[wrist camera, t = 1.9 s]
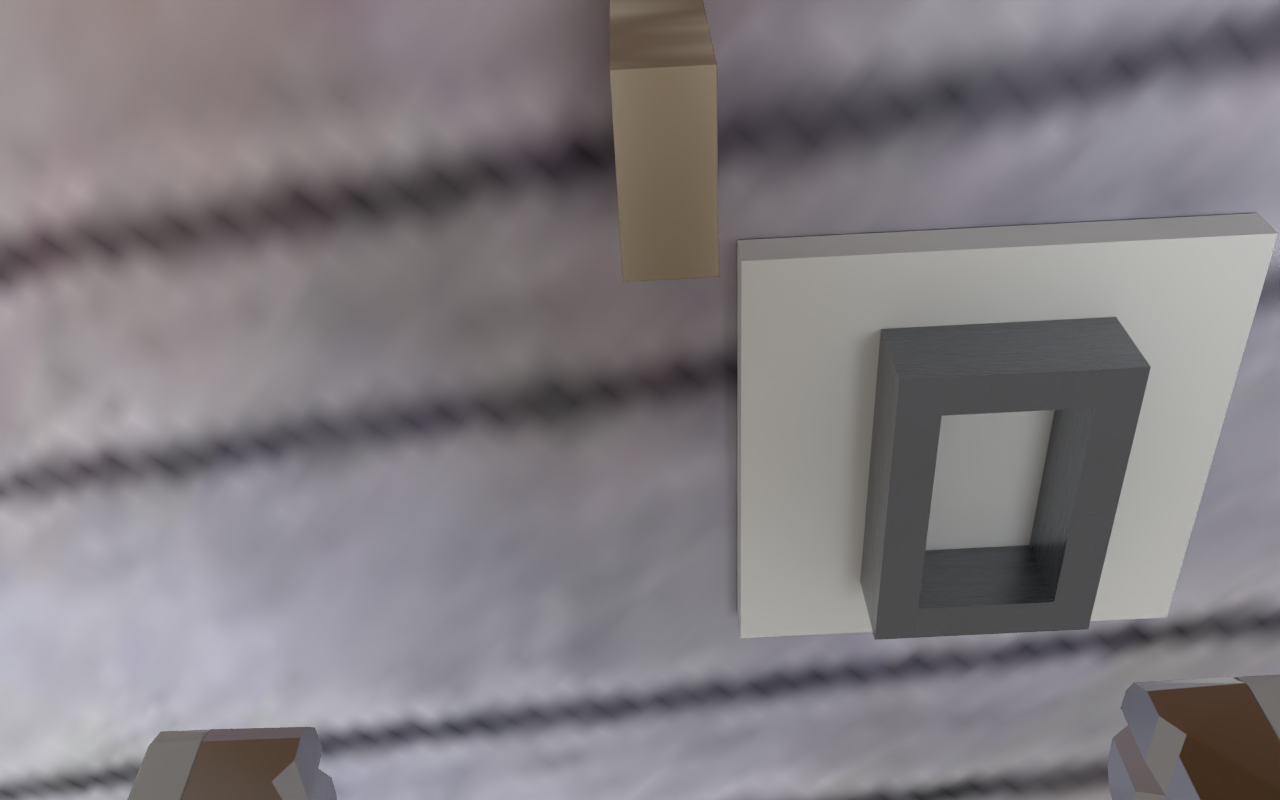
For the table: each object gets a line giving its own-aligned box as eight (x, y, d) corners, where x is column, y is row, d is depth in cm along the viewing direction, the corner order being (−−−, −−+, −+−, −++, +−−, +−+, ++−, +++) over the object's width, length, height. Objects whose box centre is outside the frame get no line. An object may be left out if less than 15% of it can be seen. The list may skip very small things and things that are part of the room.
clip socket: (1116, 316, 32) (1151, 367, 30) (1061, 571, 37) (1088, 628, 35) (880, 328, 32) (899, 380, 30) (860, 581, 37) (874, 639, 35)
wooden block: (694, -36, 28) (716, 64, 22) (698, 145, 30) (718, 277, 25) (609, -31, 28) (610, 70, 22) (620, 149, 30) (622, 282, 25)
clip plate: (1257, 213, 32) (1278, 233, 31) (1152, 591, 40) (1166, 617, 39) (737, 240, 32) (741, 261, 31) (737, 612, 40) (740, 638, 39)
